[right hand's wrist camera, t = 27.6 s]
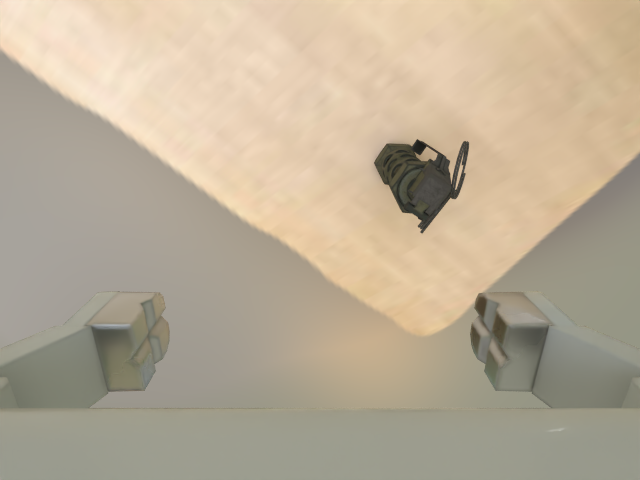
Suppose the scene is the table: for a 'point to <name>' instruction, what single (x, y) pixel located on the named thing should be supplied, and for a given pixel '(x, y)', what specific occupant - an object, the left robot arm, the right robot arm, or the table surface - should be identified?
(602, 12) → the table surface
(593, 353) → the right robot arm
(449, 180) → the grenade
